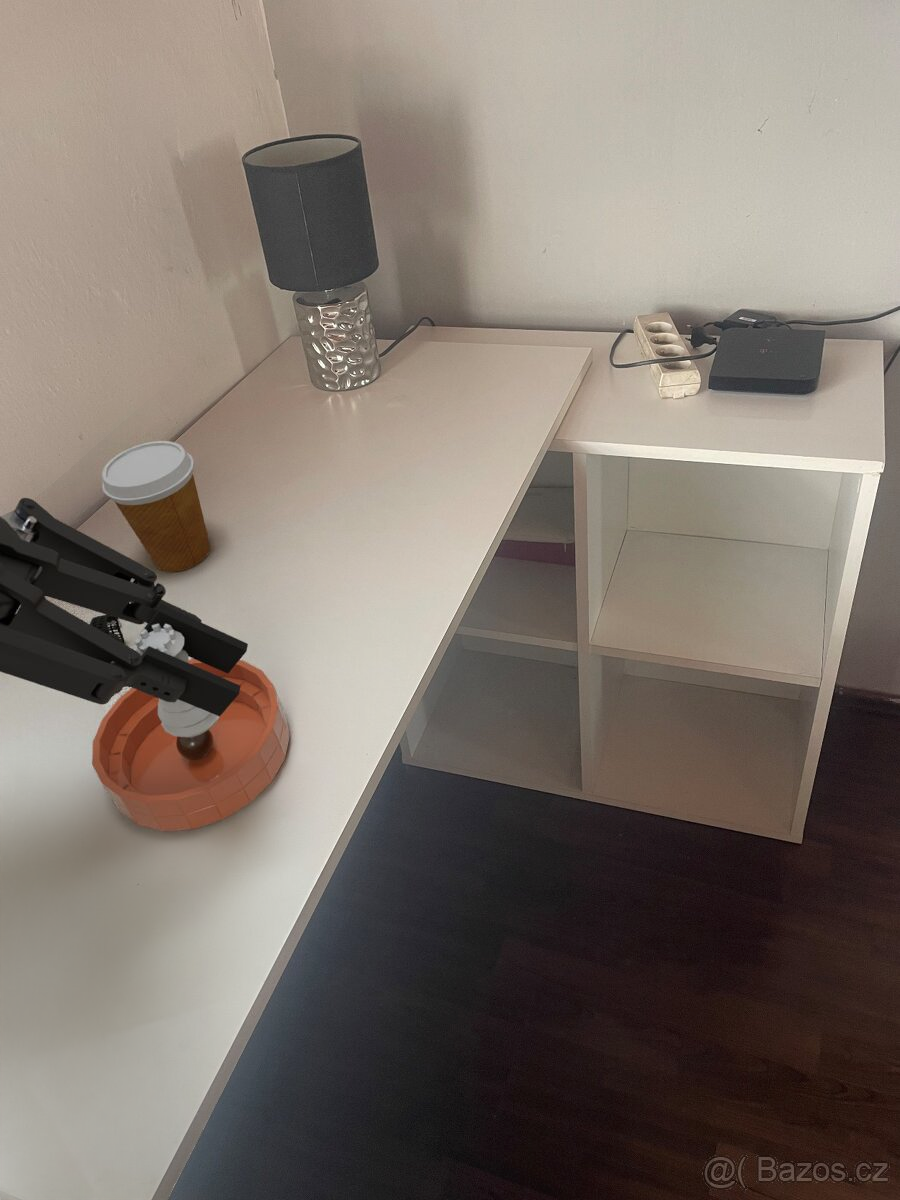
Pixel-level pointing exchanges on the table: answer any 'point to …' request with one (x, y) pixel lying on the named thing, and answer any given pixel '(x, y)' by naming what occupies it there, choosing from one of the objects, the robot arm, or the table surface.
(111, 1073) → the table surface
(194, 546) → the disposable coffee cup
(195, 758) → the bead
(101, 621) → the smartwatch
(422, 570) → the table surface
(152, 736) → the bowl
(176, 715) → the rook chess piece
